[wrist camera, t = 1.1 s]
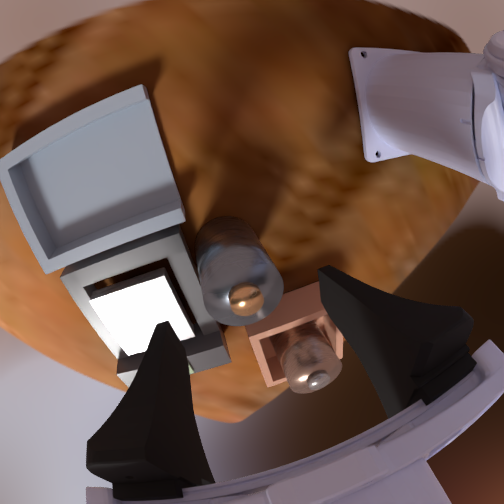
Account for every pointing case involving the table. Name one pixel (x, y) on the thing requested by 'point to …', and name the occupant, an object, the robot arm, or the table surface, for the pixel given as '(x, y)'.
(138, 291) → the pad
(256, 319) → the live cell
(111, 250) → the digital scale
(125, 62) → the table surface
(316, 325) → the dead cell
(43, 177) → the trough
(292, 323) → the pink square tube
